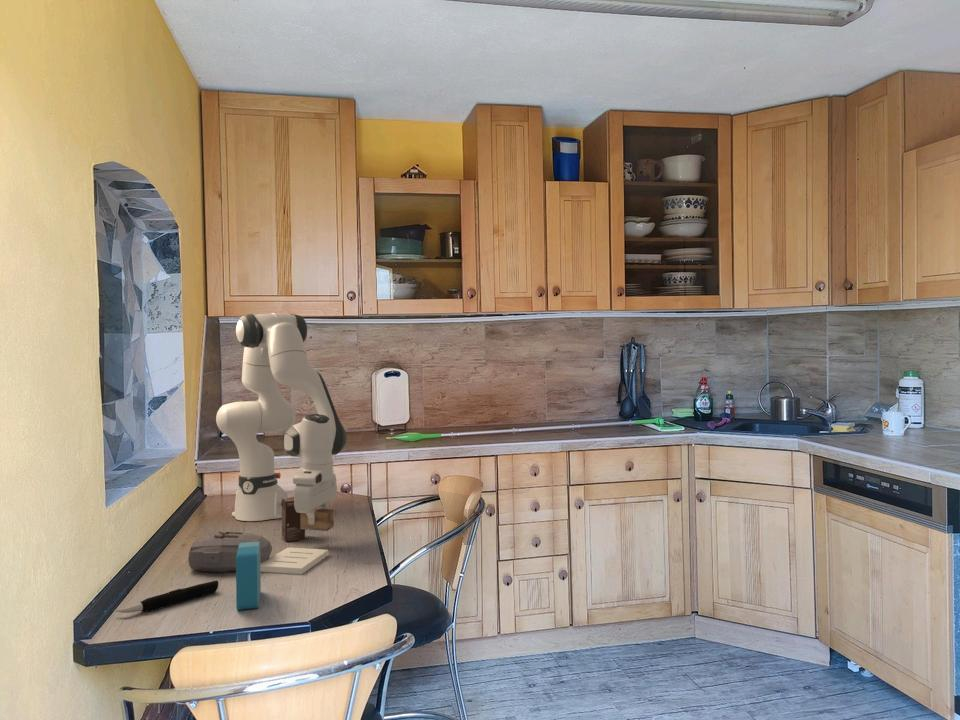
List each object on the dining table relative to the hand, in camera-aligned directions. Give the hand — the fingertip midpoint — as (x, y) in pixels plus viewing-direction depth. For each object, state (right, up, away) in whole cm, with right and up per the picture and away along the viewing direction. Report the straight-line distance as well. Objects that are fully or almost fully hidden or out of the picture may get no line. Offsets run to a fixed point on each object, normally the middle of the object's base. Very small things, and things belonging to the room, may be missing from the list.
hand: (316, 521), depth 191 cm
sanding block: (0, -2, 0) cm, 2 cm away
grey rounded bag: (-18, -8, -15) cm, 25 cm away
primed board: (-2, -8, -14) cm, 16 cm away
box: (-9, -8, +9) cm, 15 cm away
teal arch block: (-5, -8, -41) cm, 42 cm away
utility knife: (-22, -9, -42) cm, 49 cm away
